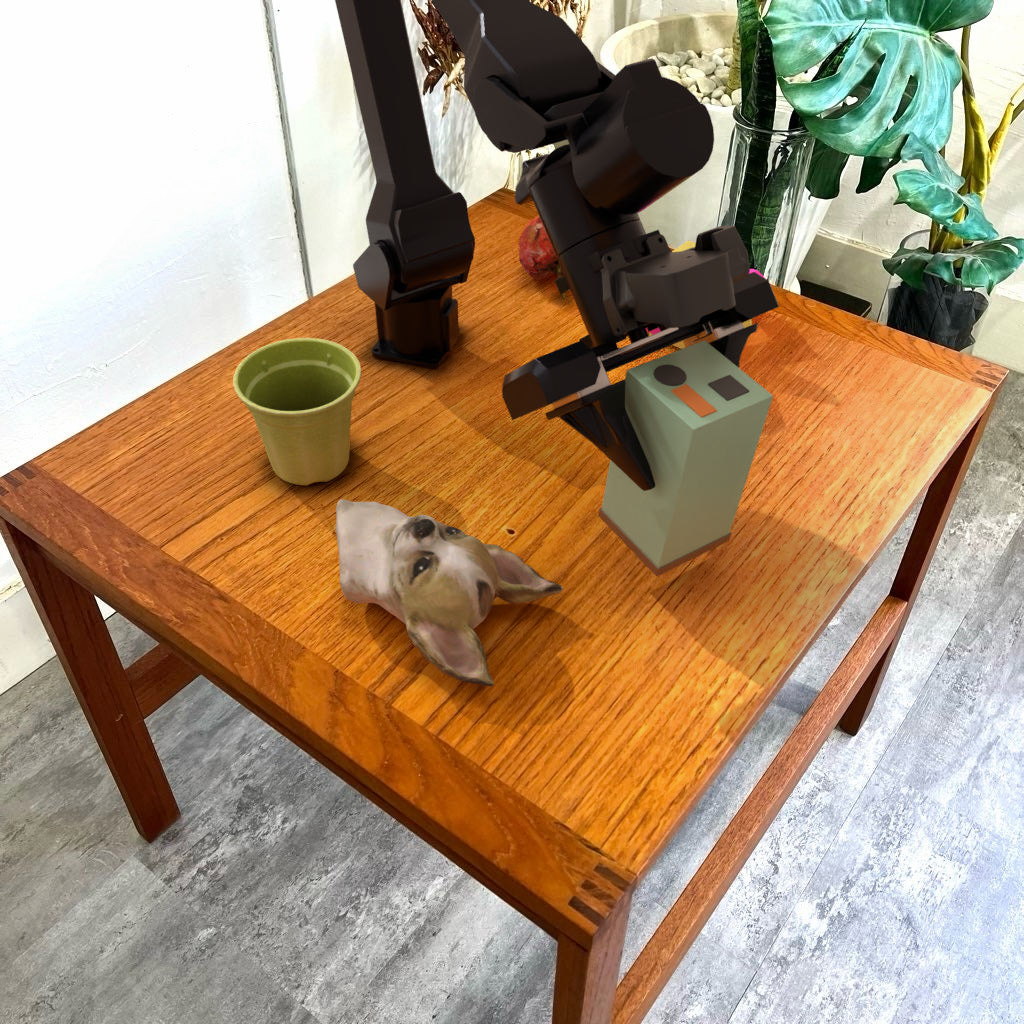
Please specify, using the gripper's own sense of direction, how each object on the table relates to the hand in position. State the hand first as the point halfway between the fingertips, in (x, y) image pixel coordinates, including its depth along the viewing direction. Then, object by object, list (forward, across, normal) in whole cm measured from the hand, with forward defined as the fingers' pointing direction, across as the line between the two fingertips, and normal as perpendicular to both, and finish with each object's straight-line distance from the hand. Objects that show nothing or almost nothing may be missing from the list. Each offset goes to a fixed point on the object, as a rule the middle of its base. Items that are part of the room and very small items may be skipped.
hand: (692, 468), depth 66 cm
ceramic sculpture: (+3, -16, +12) cm, 20 cm away
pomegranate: (-19, +17, +34) cm, 43 cm away
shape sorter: (+4, 0, +6) cm, 7 cm away
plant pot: (-11, -16, +26) cm, 32 cm away
